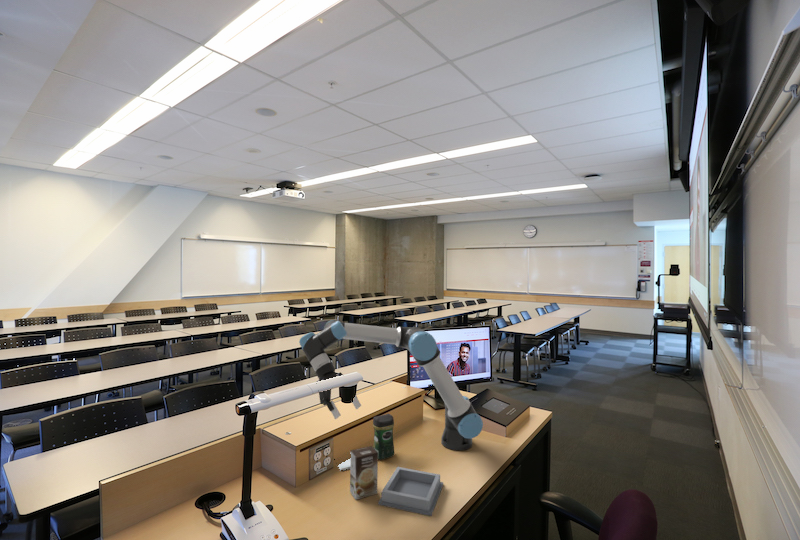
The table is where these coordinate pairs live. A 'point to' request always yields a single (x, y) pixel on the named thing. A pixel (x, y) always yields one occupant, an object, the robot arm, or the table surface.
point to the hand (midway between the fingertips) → (348, 412)
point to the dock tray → (412, 491)
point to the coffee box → (363, 472)
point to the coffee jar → (383, 436)
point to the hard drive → (345, 465)
